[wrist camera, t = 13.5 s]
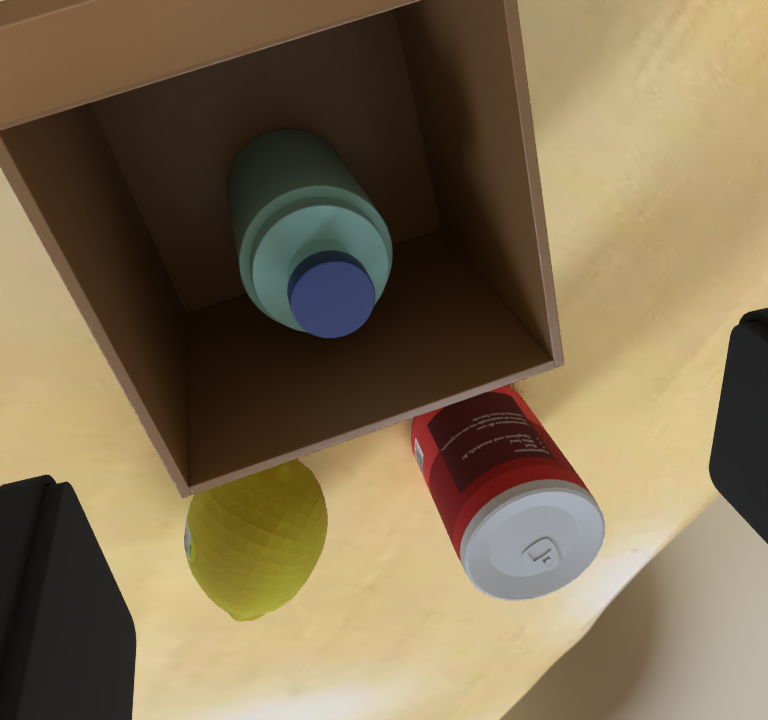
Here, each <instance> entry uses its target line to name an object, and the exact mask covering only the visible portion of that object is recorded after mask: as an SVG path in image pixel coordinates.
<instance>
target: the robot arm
mask: <svg viewBox="0 0 768 720" xmlns="http://www.w3.org/2000/svg"><path fill="white" fill-rule="evenodd" d="M709 472H710V477H711V480H712V482H713V484H714V486H715V487H716V489H717V490H718V491H719V492H720V493H721V494H722V496H723V497H724V498H725V499H727V501H728V502H729V503H730V504H731V505H732V506H733V507H734V508H735V510H737V512H738V513H739V514H740V515H741V516H742V517H743V518H744V519H745V520H746V521H747V522H748V523H749V525H750V526H751V527H752V528H753V529H754V530H755V531H756V532H757V533H758V534H759V535H760V536H761V537H762V538H763V540H764V541H765V542H766V543H767V544H768V308H764V309H760V310H755V311H751V312H748V313H746V314H744V315H743V317H742V318H741V319H740V322H739V325H737V326H735V327H734V328H733V330H732V332H731V335H730V341H729V347H728V353H727V359H726V365H725V371H724V377H723V383H722V389H721V396H720V402H719V408H718V414H717V420H716V426H715V432H714V438H713V444H712V450H711V456H710V462H709ZM135 658H136V632H135V626H134V622H133V619H132V616H131V614H130V612H129V609H128V607H127V605H126V603H125V601H124V599H123V596H122V594H121V592H120V590H119V588H118V585H117V583H116V581H115V579H114V577H113V574H112V572H111V570H110V568H109V566H108V563H107V561H106V559H105V557H104V555H103V553H102V550H101V548H100V546H99V544H98V542H97V539H96V537H95V535H94V533H93V531H92V528H91V526H90V524H89V522H88V520H87V517H86V515H85V513H84V511H83V509H82V506H81V504H80V502H79V500H78V498H77V496H76V493H75V491H74V489H73V487H72V486H71V484H70V483H69V482H63V483H58V484H57V483H56V482H55V480H54V479H53V478H52V477H51V476H50V475H43V476H38V477H34V478H30V479H25V480H21V481H17V482H12V483H8V484H4V485H2V486H0V720H132V708H133V692H134V675H135Z"/></svg>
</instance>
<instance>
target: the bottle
mask: <svg viewBox="0 0 768 720" xmlns="http://www.w3.org/2000/svg"><path fill="white" fill-rule="evenodd" d="M227 199H228V205H229V211H230V216H231V222H232V228H233V234H234V240H235V246H236V252H237V258H238V264H239V270H240V276H241V279H242V283H243V286H244V288H245V290H246V292H247V294H248V296H249V297H250V299H251V300H252V302H253V303H254V304H255V305H256V306H257V307H258V308H259V309H260V310H261V311H262V312H263V313H264V314H266V315H267V316H268V317H270V318H271V319H273V320H275V321H277V322H279V323H281V324H283V325H285V326H288V327H290V328H292V329H295V330H298V331H303V332H308V333H310V334H312V335H315V336H318V337H322V338H337V337H342V336H345V335H348V334H350V333H352V332H354V331H355V330H357V329H358V328H360V327H361V326H362V325H363V324H364V323H365V322H366V320H367V319H368V318H369V316H370V314H371V312H372V310H373V307H374V305H375V304H376V302H377V301H378V299H379V298H380V296H381V294H382V292H383V290H384V288H385V285H386V283H387V280H388V277H389V274H390V271H391V266H392V257H393V251H392V242H391V237H390V234H389V231H388V228H387V226H386V224H385V222H384V220H383V218H382V217H381V215H380V214H379V212H378V211H377V210H376V208H375V207H374V205H373V204H372V202H371V201H370V199H369V198H368V196H367V195H366V193H365V192H364V190H363V189H362V188H361V186H360V185H359V183H358V182H357V180H356V179H355V177H354V176H353V174H352V173H351V171H350V170H349V168H348V167H347V166H346V164H345V163H344V161H343V160H342V158H341V157H340V155H339V154H338V152H337V151H336V150H335V149H334V148H333V147H332V146H331V145H330V144H329V143H328V142H326V141H325V140H324V139H322V138H321V137H319V136H317V135H315V134H313V133H310V132H307V131H304V130H298V129H279V130H274V131H270V132H268V133H265V134H262V135H260V136H259V137H257V138H255V139H254V140H252V141H251V142H250V143H248V144H247V145H246V146H245V147H244V148H243V149H242V150H241V151H240V153H239V154H238V155H237V157H236V159H235V160H234V162H233V164H232V166H231V169H230V171H229V175H228V180H227Z"/></svg>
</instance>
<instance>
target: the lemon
mask: <svg viewBox="0 0 768 720" xmlns="http://www.w3.org/2000/svg"><path fill="white" fill-rule="evenodd" d="M327 519H328V517H327V509H326V504H325V499H324V496H323V493H322V490H321V487H320V484H319V482H318V481H317V479H316V478H315V476H314V475H313V473H312V472H311V471H310V470H309V469H308V468H307V467H306V466H304V465H303V464H302V463H301V462H299V461H298V460H297V459H293V460H290V461H288V462H285V463H282V464H279V465H276V466H273V467H270V468H268V469H265V470H262V471H259V472H256V473H253V474H250V475H248V476H245V477H242V478H239V479H236V480H233V481H230V482H228V483H225V484H222V485H219V486H216V487H213V488H210V489H208V490H205V491H202V492H199V493H196V494H194V497H193V499H192V502H191V505H190V508H189V512H188V515H187V521H186V527H185V536H184V542H185V551H186V556H187V560H188V563H189V566H190V569H191V571H192V574H193V576H194V577H195V579H196V580H197V582H198V583H199V585H200V586H201V588H202V589H203V591H204V592H205V593H206V595H207V596H208V597H209V598H210V599H211V600H212V601H213V602H214V603H215V604H216V605H217V606H219V607H220V608H222V609H223V610H225V611H226V612H228V613H229V614H230V616H231V617H232V618H234V619H235V620H236V621H252V620H255V619H258V618H260V617H261V616H263V615H265V614H266V613H268V612H271V611H274V610H276V609H278V608H279V607H281V606H282V605H284V604H285V603H287V602H288V601H289V600H291V599H292V598H293V597H294V596H295V595H296V594H297V592H298V591H299V590H300V589H301V587H302V586H303V585H304V584H305V582H306V581H307V579H308V578H309V576H310V574H311V572H312V571H313V569H314V567H315V565H316V563H317V561H318V559H319V557H320V554H321V552H322V550H323V546H324V543H325V538H326V533H327Z"/></svg>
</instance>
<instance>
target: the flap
mask: <svg viewBox="0 0 768 720" xmlns="http://www.w3.org/2000/svg"><path fill="white" fill-rule="evenodd" d="M400 1H403V0H5V1H2V2H0V125H1V124H5V123H8V122H11V121H14V120H18V119H21V118H24V117H27V116H30V115H34V114H37V113H40V112H43V111H47V110H50V109H53V108H56V107H60V106H63V105H66V104H69V103H73V102H76V101H79V100H82V99H86V98H89V97H92V96H95V95H98V94H102V93H105V92H108V91H111V90H115V89H118V88H121V87H124V86H128V85H131V84H134V83H137V82H141V81H144V80H147V79H150V78H154V77H157V76H160V75H163V74H167V73H170V72H173V71H176V70H179V69H183V68H186V67H189V66H192V65H196V64H199V63H202V62H205V61H209V60H212V59H215V58H218V57H222V56H225V55H228V54H231V53H235V52H238V51H241V50H244V49H247V48H251V47H254V46H257V45H260V44H264V43H267V42H270V41H273V40H277V39H280V38H283V37H286V36H290V35H293V34H296V33H299V32H303V31H306V30H309V29H312V28H316V27H319V26H322V25H325V24H328V23H332V22H335V21H338V20H341V19H345V18H348V17H351V16H354V15H358V14H361V13H364V12H367V11H371V10H374V9H377V8H380V7H384V6H387V5H390V4H393V3H396V2H400Z"/></svg>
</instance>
